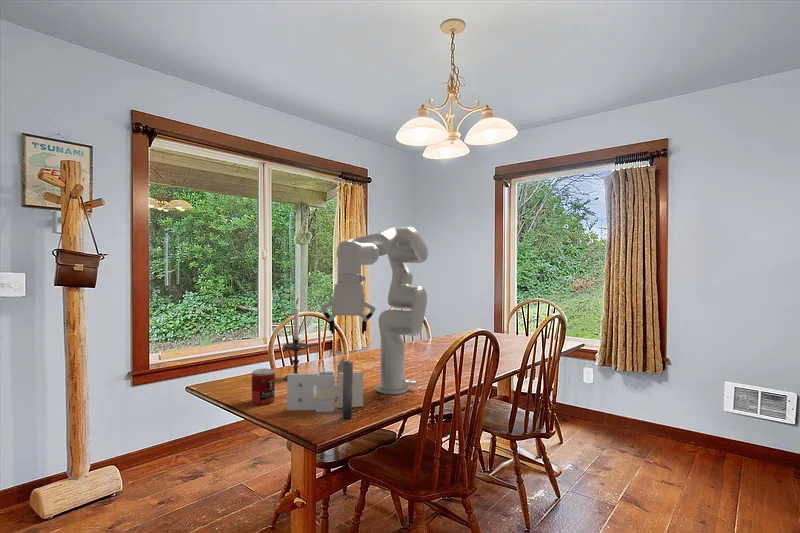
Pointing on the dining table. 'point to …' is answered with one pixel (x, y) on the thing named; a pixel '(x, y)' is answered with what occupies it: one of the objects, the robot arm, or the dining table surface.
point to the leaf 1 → (309, 391)
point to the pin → (347, 389)
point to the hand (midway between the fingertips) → (347, 333)
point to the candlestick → (295, 341)
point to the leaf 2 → (338, 390)
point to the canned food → (263, 386)
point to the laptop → (340, 370)
